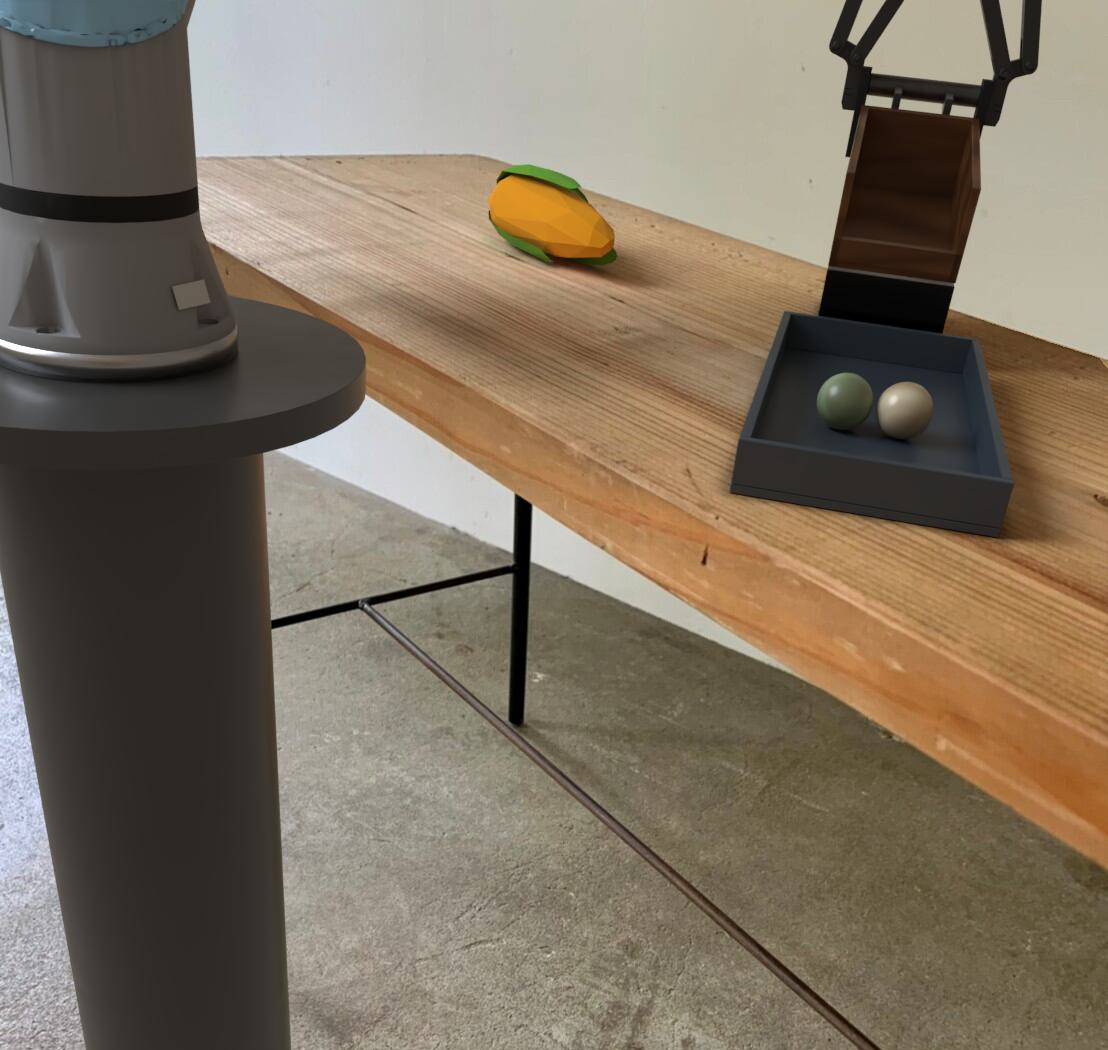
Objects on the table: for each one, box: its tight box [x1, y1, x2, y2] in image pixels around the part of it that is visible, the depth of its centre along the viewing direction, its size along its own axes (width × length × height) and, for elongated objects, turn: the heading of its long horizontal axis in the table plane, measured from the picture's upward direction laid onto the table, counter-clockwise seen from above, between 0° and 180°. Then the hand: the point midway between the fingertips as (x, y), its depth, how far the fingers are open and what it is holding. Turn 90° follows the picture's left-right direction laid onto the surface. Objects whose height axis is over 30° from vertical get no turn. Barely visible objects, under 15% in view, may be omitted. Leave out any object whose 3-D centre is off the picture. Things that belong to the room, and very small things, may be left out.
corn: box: [488, 163, 618, 266], centre depth 110 cm, size 7×8×20 cm
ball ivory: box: [875, 382, 934, 440], centre depth 73 cm, size 3×3×3 cm
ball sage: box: [817, 373, 873, 430], centre depth 74 cm, size 3×3×3 cm
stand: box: [817, 265, 955, 334], centre depth 97 cm, size 17×9×6 cm, turn 166°
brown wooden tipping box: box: [827, 72, 982, 284], centre depth 92 cm, size 21×9×8 cm, turn 166°
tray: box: [729, 310, 1015, 538], centre depth 76 cm, size 31×14×3 cm, turn 166°
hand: (908, 162), depth 100 cm, fingers closed on brown wooden tipping box, 9 cm apart
